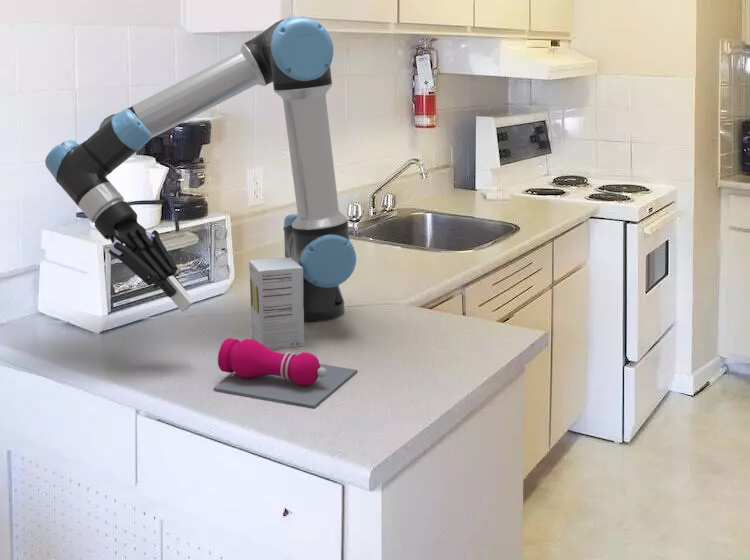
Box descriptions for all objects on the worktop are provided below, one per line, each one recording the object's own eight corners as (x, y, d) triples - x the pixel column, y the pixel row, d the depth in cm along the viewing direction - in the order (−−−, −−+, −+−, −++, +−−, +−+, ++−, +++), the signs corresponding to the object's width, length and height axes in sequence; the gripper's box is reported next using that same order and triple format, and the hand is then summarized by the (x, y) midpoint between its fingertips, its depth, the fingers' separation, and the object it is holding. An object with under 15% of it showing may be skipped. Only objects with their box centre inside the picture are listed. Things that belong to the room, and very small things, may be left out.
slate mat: (213, 390, 150) (213, 387, 150) (264, 357, 166) (264, 355, 166) (314, 408, 143) (314, 405, 143) (357, 372, 159) (357, 369, 159)
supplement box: (250, 337, 178) (247, 259, 174) (293, 332, 181) (291, 256, 177) (261, 351, 170) (258, 270, 165) (305, 346, 173) (303, 266, 168)
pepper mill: (238, 347, 160) (337, 365, 154) (224, 380, 157) (324, 400, 151) (226, 327, 154) (328, 345, 148) (211, 362, 151) (315, 381, 145)
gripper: (120, 218, 168) (196, 309, 166) (75, 231, 156) (156, 328, 155) (141, 194, 165) (218, 286, 163) (96, 205, 153) (179, 304, 151)
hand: (188, 306), depth 159 cm, fingers closed
